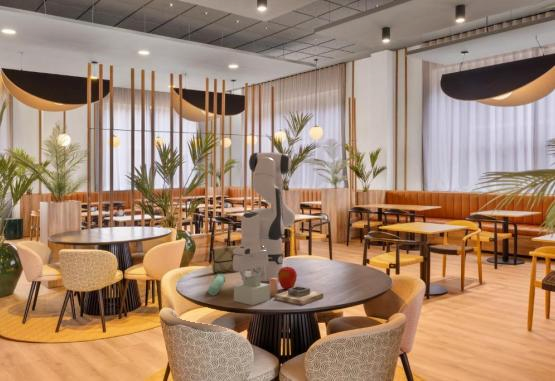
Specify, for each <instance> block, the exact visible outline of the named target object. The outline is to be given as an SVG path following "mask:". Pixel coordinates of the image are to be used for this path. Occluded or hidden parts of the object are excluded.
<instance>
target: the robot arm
mask: <svg viewBox="0 0 555 381" xmlns="http://www.w3.org/2000/svg"><path fill="white" fill-rule="evenodd" d="M248 165H249V166H248V167H249V170H250V171H251V172H253V177H252V188H253V191H254V192H256V194H258V195H259V196H261V197H262V199H263V200H264V201H265V202H268V203H270V204H272V207H271V208H270V207H267V208H265V207H264V208H256V209H252V210H251V211H250V212H245V213H244V214H242V216H241V217H242V218H241V222H240V223H241V225H240V228H241V229H240V233H241V241H240V242H241V244H239V245H237V246H238V247H237V248H235V249H234V250H233V253H234V254H235V255H234V256H233V270H232V271H233V272H235V271H236V272H235V273H239V274H240V276H241V281H242V282H243V281H245V280H247V276H245V274H246V272H247V271H250V273H249V274H247V275H252V276H257V277H260V282H269V278H278V273H279V270H280V269H281V268H283V267H284V264H283V261H284V254H283V239H282V238H283V237H284V235H285V228H289V227H292V225H294V224H295V220H296V215H295V212H294V211H293V210H292V208H290V207H289V206H288V205H287V204H286V202H285V199H284V195H283V193H284V192H283V191H284V190H283V188H284V186H283V183H284V182H283V181H284V180H283V178H284V177H283V176H284V175H285V174H287V173H289V172H290V169H291V167H292V159H291V157H290V155H289V154H288V153H283V152H282V153H279V152H254V153H251V155H250V157H249V159H248ZM250 269H251V270H250ZM246 270H247V271H246ZM278 282H279V279H278Z"/></svg>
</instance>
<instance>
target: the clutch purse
mask: <svg viewBox="0 0 555 381" xmlns="http://www.w3.org/2000/svg"><path fill="white" fill-rule="evenodd" d="M238 246H239V245H231V246H221V247H220V246H219V247H212V248H211V249H210V251H209V253H211V267H212V268H211V270H212V274H215V272H217V273H221V274H228V273H227V272H231V271H230V270H232V271H234V270H233V256H234V255H235V254H234V253H233V250H234V249H235V248H237V247H238ZM222 271H225V272H222ZM249 271H251V269H250V270H249Z"/></svg>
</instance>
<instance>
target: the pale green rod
mask: <svg viewBox="0 0 555 381" xmlns="http://www.w3.org/2000/svg"><path fill="white" fill-rule="evenodd" d="M225 282H226V277H225V275H224V274H223V273H217V274H216V275H215V276H214V278H213V281H212V282H211V283H210V285H209V287H208V288H207V292H208V294H209V295H210V296H216V295H217V294H218V293H219V291H220V290H221V288H222V285H224V283H225Z"/></svg>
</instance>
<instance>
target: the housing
mask: <svg viewBox="0 0 555 381" xmlns="http://www.w3.org/2000/svg"><path fill="white" fill-rule="evenodd" d="M245 276H247V280H245V281H243V280H242V282H243V283H240V284H235V285H233V302H237V303H242V304H245V305H249V306H255V305H258V304H261V303H264V302H267V301H270V300H271V296H270V285H269V283H262V282H261V281H260V277H257V276H252V275H248V274H246V275H245Z"/></svg>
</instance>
